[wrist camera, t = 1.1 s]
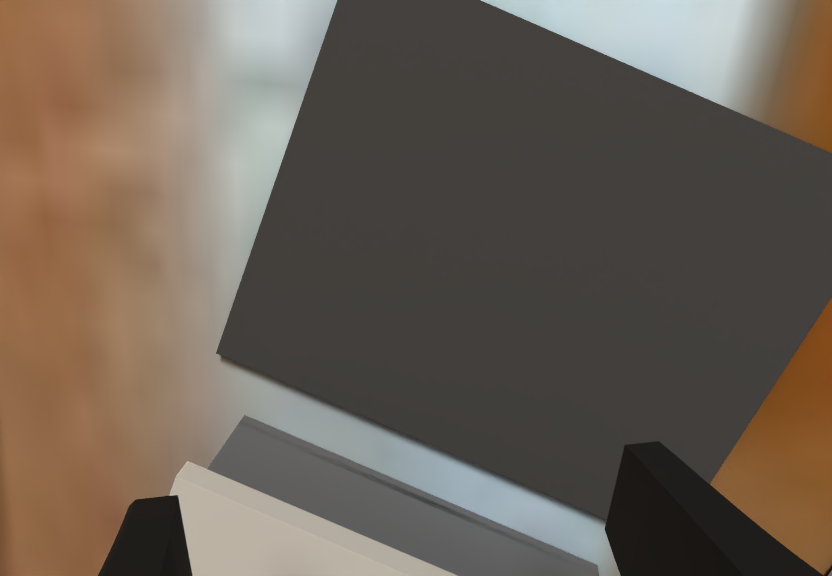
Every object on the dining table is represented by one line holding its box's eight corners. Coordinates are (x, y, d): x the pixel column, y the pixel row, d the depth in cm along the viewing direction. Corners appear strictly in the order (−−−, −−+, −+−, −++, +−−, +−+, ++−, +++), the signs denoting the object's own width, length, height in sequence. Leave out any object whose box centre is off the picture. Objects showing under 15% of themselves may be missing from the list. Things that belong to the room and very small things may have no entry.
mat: (897, 182, 21) (904, 185, 21) (666, 538, 26) (668, 546, 25) (359, -53, 21) (356, -54, 21) (220, 348, 26) (216, 353, 25)
